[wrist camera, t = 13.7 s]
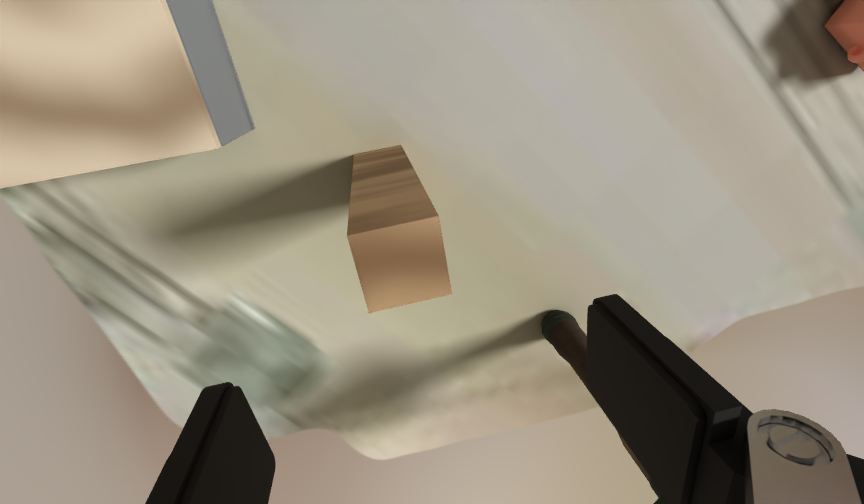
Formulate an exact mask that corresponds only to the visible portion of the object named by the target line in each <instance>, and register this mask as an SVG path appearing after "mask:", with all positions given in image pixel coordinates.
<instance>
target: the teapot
mask: <svg viewBox="0 0 864 504" xmlns="http://www.w3.org/2000/svg"><path fill="white" fill-rule="evenodd" d="M824 27H825V28H826V29H827V30H828V31H829V33H830V34H831V35H832V36H833V37H834V38H835V39H836V41H837V42H838V43H839V44H840V45H841V46H842V47H843V49H844V50H845V51H846V52H847V53H848V55H847V57H848V60H849V61H850V62H852V63H857V64H858V66H859V67H860V68H861V69H862V70H863V71H864V0H844V1H843V2H842V4H841V5H840V6H839V7H838V9H837V10H836V11H835V12H834V14H833V15H832V16H831V17H830V19H829V20H828V21H827V22H826V24H825V25H824Z"/></svg>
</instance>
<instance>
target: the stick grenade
mask: <svg viewBox="0 0 864 504" xmlns="http://www.w3.org/2000/svg"><path fill="white" fill-rule="evenodd" d="M542 333H543V334H544V336H545V338H546V340H548V341H549V342H550V343H551V344H552V345H553V346H554V348H555V349H556V351H557V352H558V353H559V355H560V356H562V357H563V358H564V359H565V360H566V361H567V362H568V363H570V365H571V366H572V368H573V369H574V370H575V372H576V373H577V375H578V376H579V378H580V379H581V380H582V382H583V383H584V385H585V386H586V387H587V389H588V390H589V388H588V385H587V382H586V359H587V336H586V334H585V333H584V332H583V331H582V329H581V328H580V327H579V325H578V323H577V322H576V320H575V318H574V317H573V316H572V315H571V314H569V313H567V312H565V311H561V310H557V311H553V312H551V313H549V314H548V315H547V316H546V317H545V318H544V319H543V322H542ZM589 392H590V390H589ZM590 393H591V392H590ZM592 396H593V395H592ZM593 397H594V396H593ZM594 399H595V398H594ZM595 400H596V399H595ZM596 402H597V401H596ZM597 403H598V402H597ZM599 406H600V405H599ZM600 407H601V406H600ZM602 410H603V409H602ZM604 413H605V412H604ZM605 414H606V413H605ZM606 416H607V415H606ZM607 417H608V416H607ZM609 420H610V419H609ZM611 423H612V422H611ZM612 424H613V423H612ZM613 426H614V425H613ZM614 427H615V426H614ZM616 430H617V429H616ZM617 432H618V431H617ZM618 434H619V436H620V438H621V440H622V443H623V445H624V447H625V448H626V450H627V451H628V453H629V454H630V455H631V457H632V458H633V460H634V461H635V463H636V464H637V465H638V467H639V468H640V470H641V471H642V472H643V474H644V475H645V477H646V478H647V480H648V481H649V483H650V485H651V487H652V489H653V490H654V492H655V493H656V495H657V496H658V497H659V499H658V500H657V501H656V502H655V503H654V504H669V503H668V502H667V500H666V499H665V497H664V496H663V495H662V493H661V492H660V490H659V489H658V487H657V486H656V485H655V483H654V482H653V480H652V479H651V477H650V476H649V475H648V473H647V472H646V470H645V469H644V468H643V466H642V465H641V463H640V462H639V460H638V459H637V458H636V456H635V455H634V453H633V452H632V450H631V449H630V448H629V446H628V445H627V443H626V442H625V440H624V439H623V438H622V436H621V435H620V433H619V432H618Z"/></svg>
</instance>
